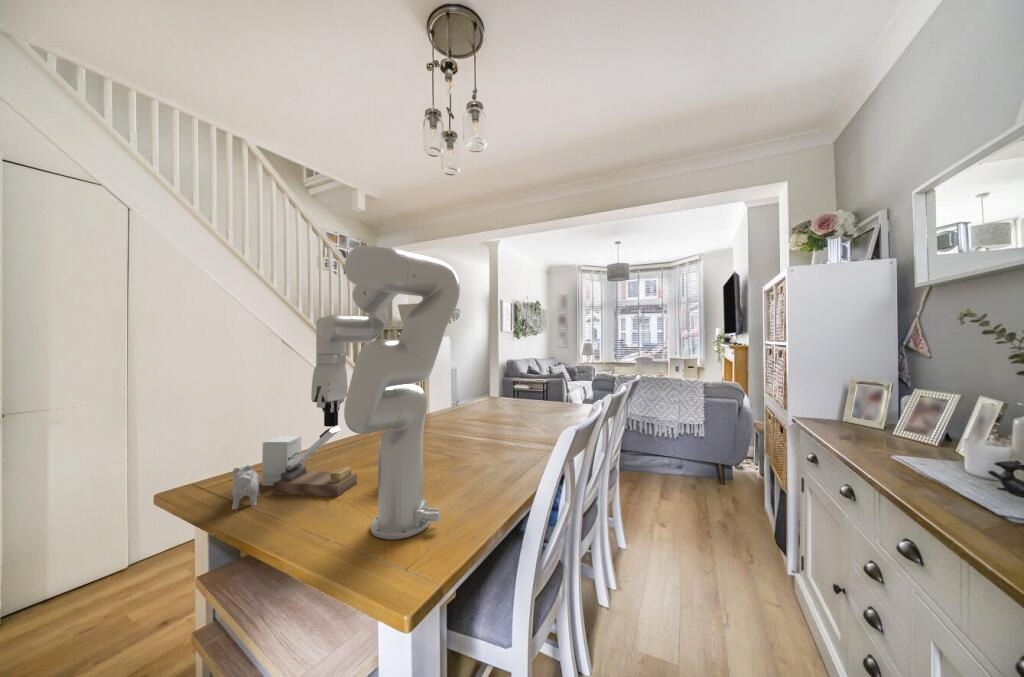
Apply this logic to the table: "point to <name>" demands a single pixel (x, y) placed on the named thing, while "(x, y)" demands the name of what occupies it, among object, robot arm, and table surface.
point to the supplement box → (278, 457)
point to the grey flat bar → (313, 448)
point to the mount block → (315, 482)
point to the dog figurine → (244, 485)
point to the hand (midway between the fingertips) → (331, 425)
